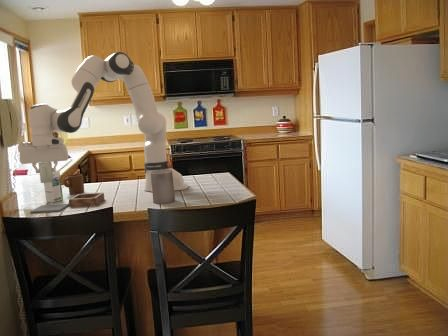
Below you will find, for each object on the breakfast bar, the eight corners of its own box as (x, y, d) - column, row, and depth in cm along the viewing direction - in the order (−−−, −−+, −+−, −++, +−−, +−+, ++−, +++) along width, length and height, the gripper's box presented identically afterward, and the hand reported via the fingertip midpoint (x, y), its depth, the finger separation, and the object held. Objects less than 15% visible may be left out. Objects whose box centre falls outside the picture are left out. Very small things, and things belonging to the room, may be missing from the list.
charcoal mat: (69, 205, 227) (69, 203, 227) (60, 211, 215) (59, 209, 215) (41, 207, 227) (41, 205, 227) (30, 213, 215) (30, 211, 215)
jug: (51, 182, 216) (49, 163, 214) (38, 183, 215) (36, 164, 214) (54, 180, 222) (52, 161, 221) (41, 181, 222) (39, 162, 220)
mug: (71, 196, 249) (68, 178, 247) (59, 196, 252) (57, 177, 251) (87, 191, 259) (85, 174, 258) (76, 191, 263) (74, 173, 261)
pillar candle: (162, 198, 228) (158, 166, 226) (179, 199, 223) (176, 166, 221) (148, 203, 220) (145, 170, 218) (166, 204, 215) (163, 170, 213)
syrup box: (53, 202, 236) (50, 172, 234) (45, 201, 239) (42, 172, 237) (63, 200, 241) (60, 170, 239) (55, 199, 244) (51, 170, 242)
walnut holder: (104, 199, 235) (103, 192, 234) (96, 205, 222) (95, 197, 222) (78, 201, 235) (77, 194, 235) (69, 207, 223) (68, 199, 222)
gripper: (15, 143, 212) (19, 175, 214) (65, 140, 215) (68, 171, 217) (19, 142, 218) (23, 173, 220) (67, 138, 221) (70, 169, 223)
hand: (46, 172), depth 219 cm, fingers closed on jug, 5 cm apart
